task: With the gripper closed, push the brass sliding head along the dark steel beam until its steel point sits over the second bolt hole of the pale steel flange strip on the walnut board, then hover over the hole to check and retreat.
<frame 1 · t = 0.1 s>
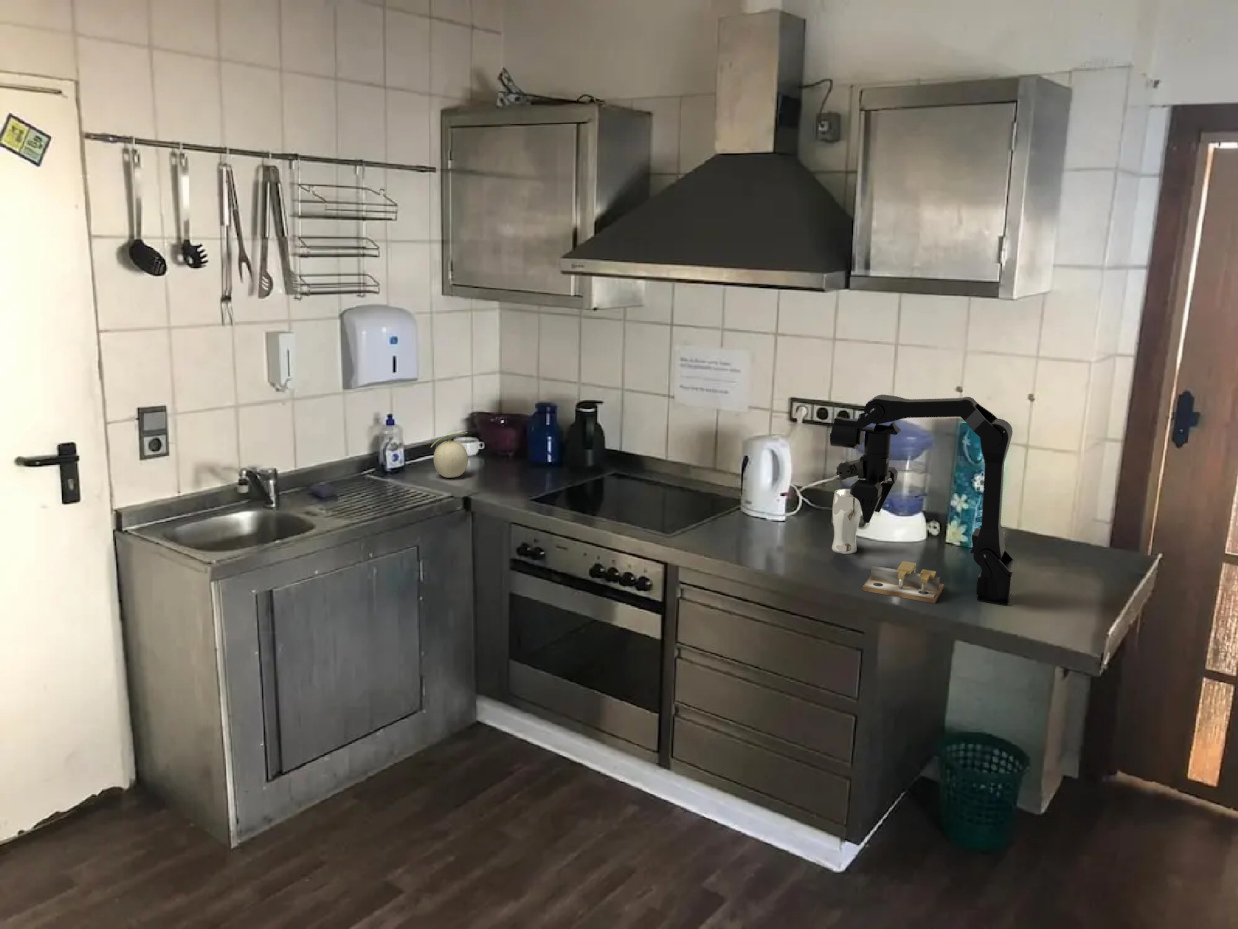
hand: (872, 517, 236), 15 cm above the worktop, tool pointing down, fingers open, 9 cm apart
fruit: (450, 477, 321), on the worktop
beer glass: (844, 550, 258), on the worktop
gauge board: (903, 589, 232), on the worktop
slider: (904, 575, 232), point 3 cm above the worktop, slide at 0.0 cm
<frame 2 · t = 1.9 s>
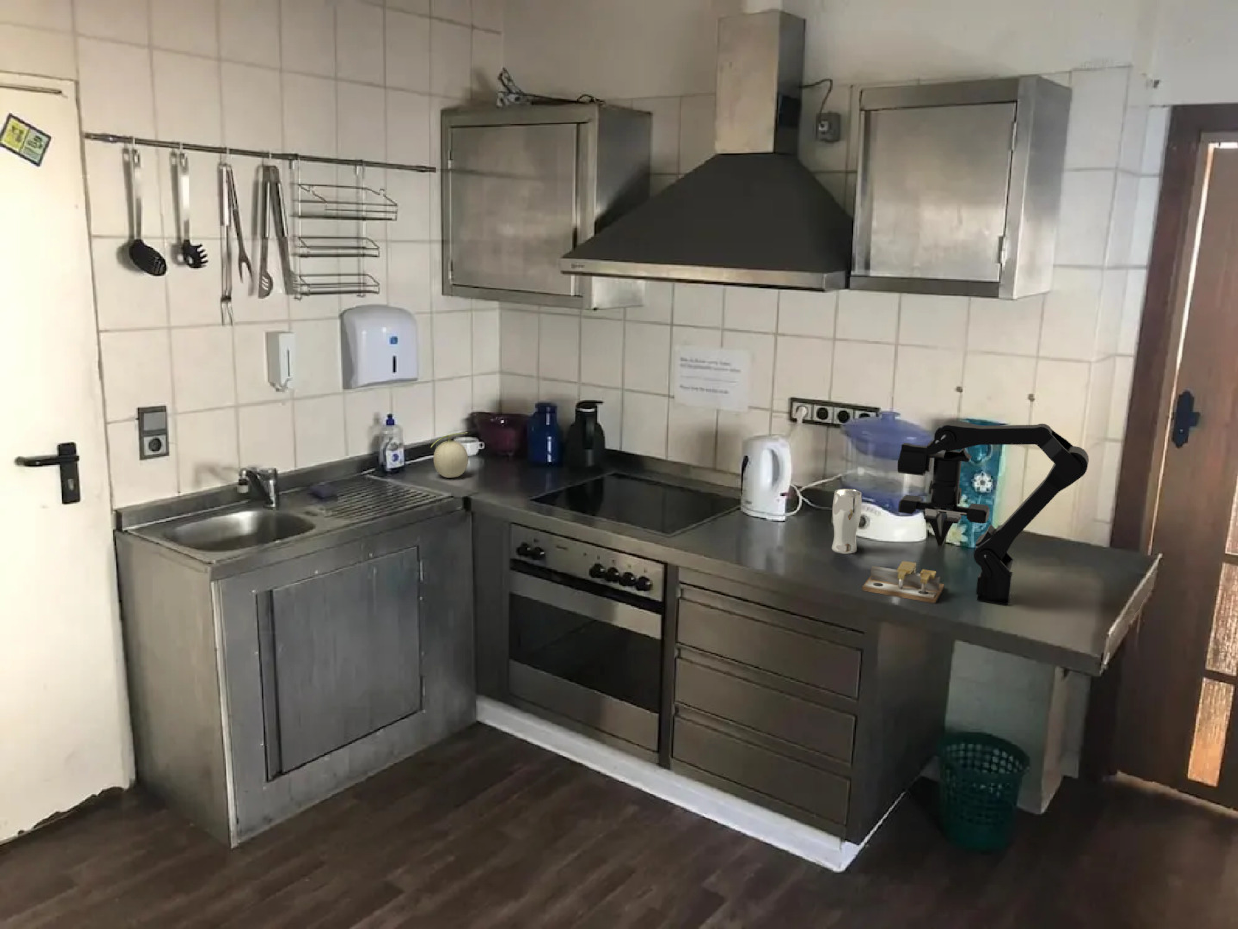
hand: (940, 545, 230), 10 cm above the worktop, tool pointing down, fingers closed
nothing on the worktop moved.
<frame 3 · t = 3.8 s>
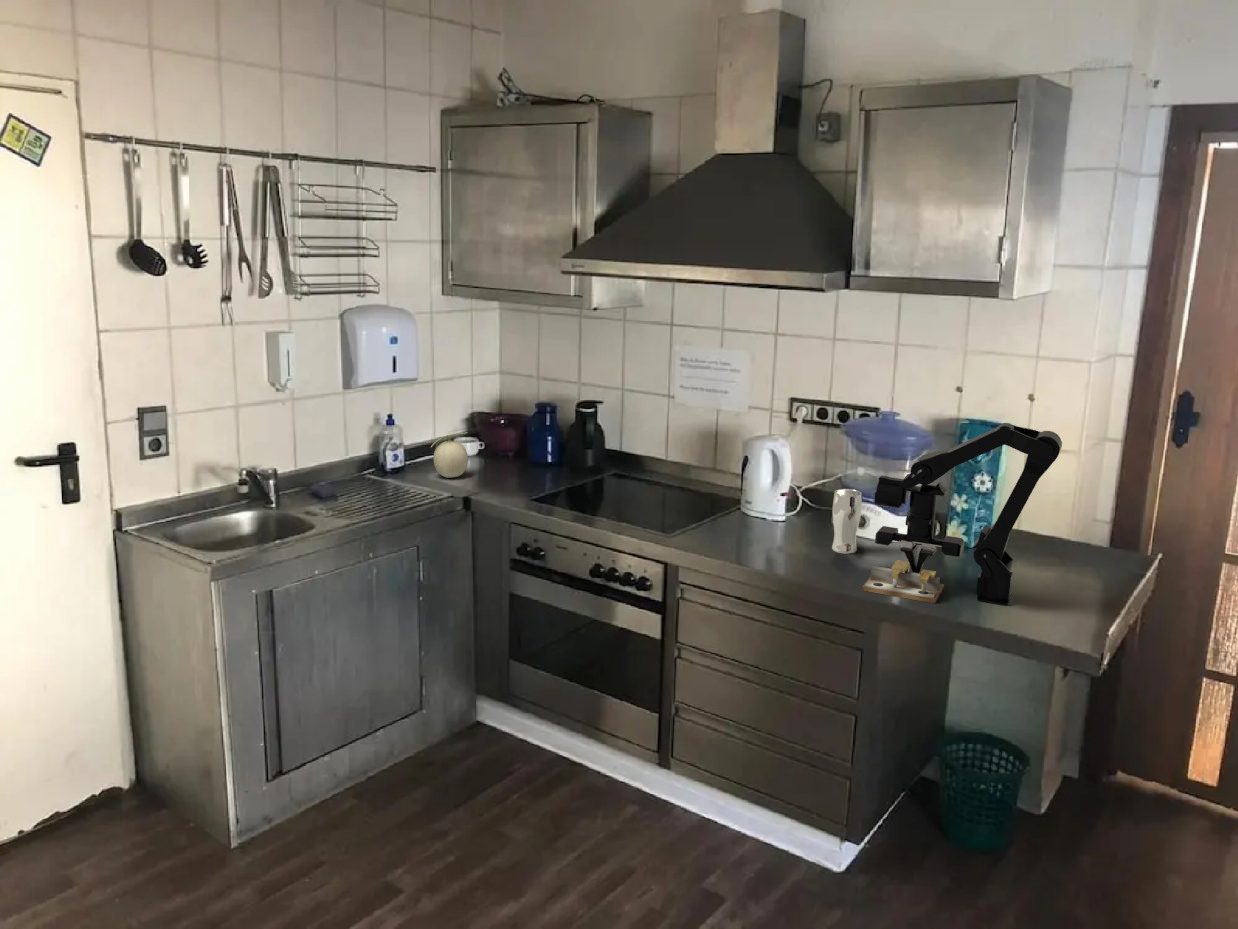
hand: (916, 576, 234), 2 cm above the worktop, tool pointing down, fingers closed
slider: (898, 574, 232), point 3 cm above the worktop, slide at 1.3 cm, touching gripper
everything else where it was.
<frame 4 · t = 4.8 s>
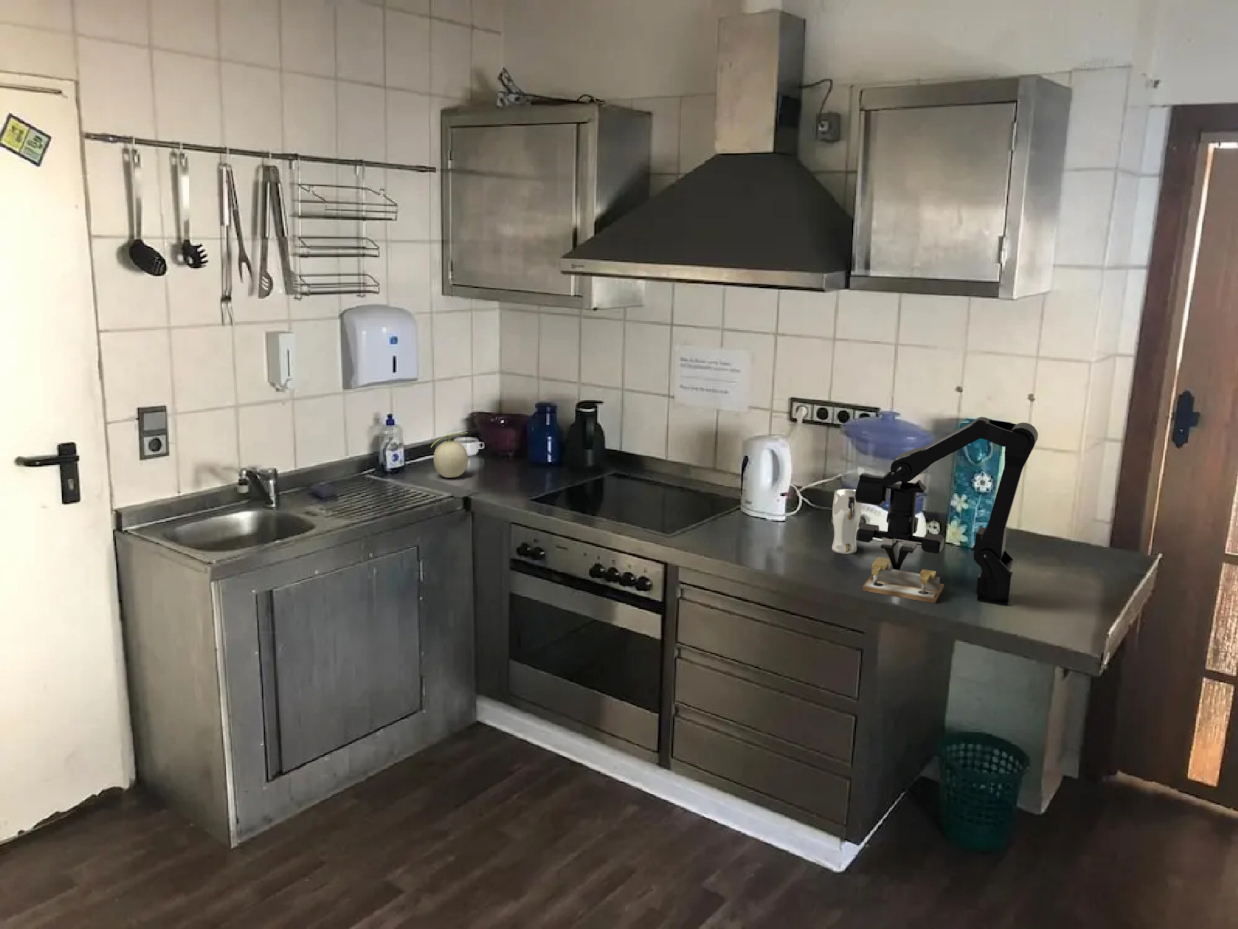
hand: (896, 573, 236), 2 cm above the worktop, tool pointing down, fingers closed
slider: (879, 571, 234), point 3 cm above the worktop, slide at 5.7 cm, touching gripper
everything else where it was.
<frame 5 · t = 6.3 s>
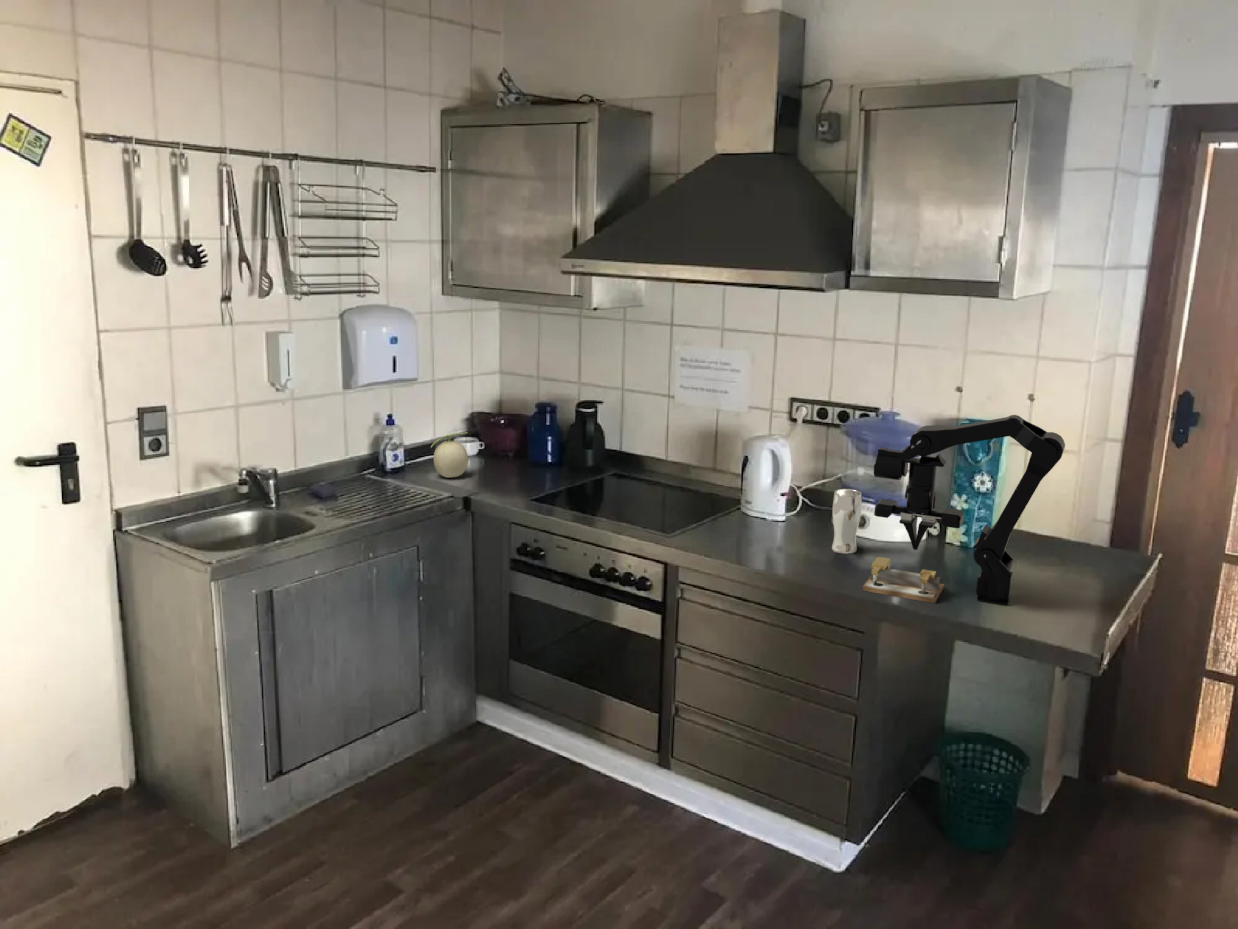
hand: (915, 549, 233), 9 cm above the worktop, tool pointing down, fingers closed
slider: (879, 571, 234), point 3 cm above the worktop, slide at 5.8 cm
everything else where it was.
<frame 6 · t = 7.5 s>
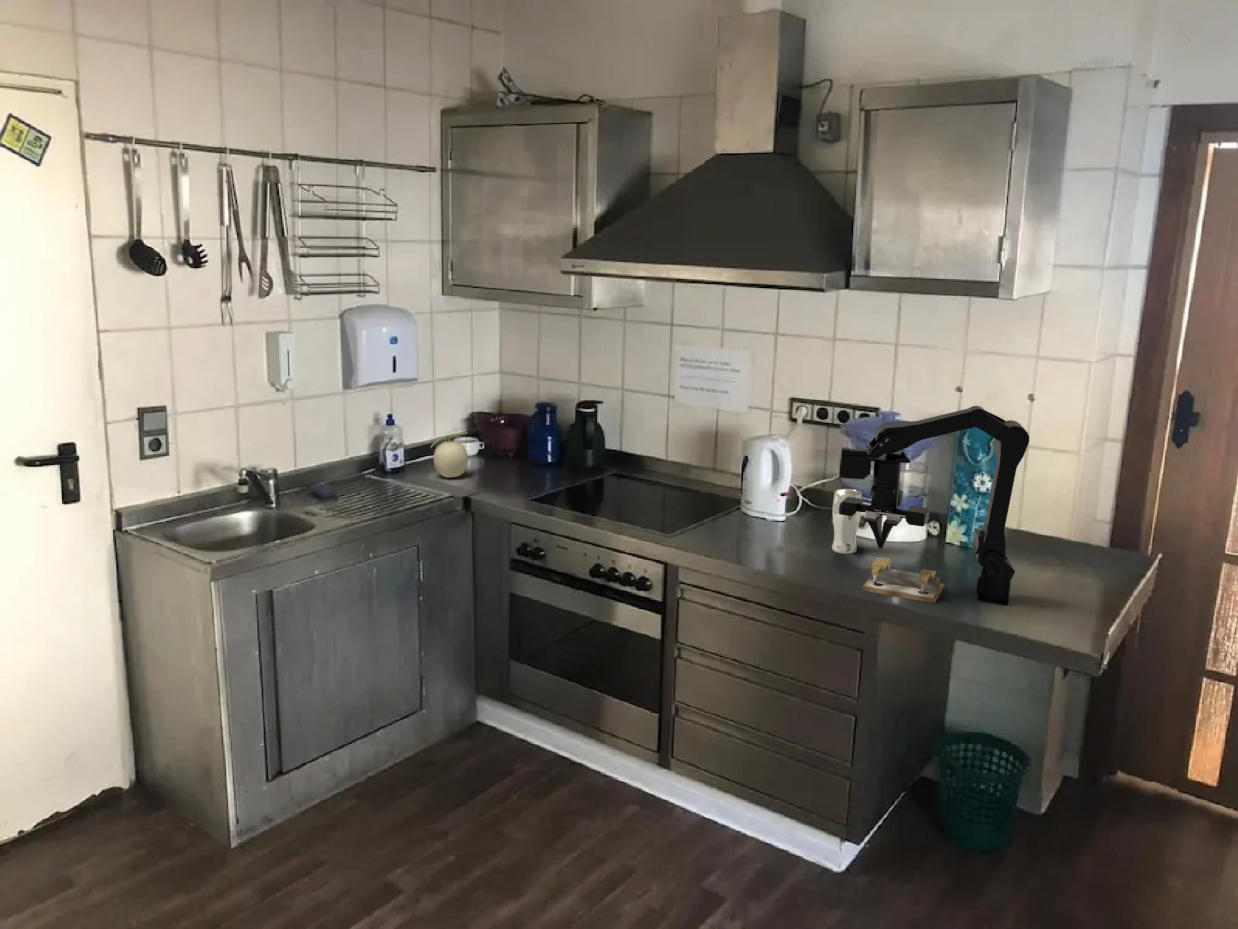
hand: (880, 548, 229), 10 cm above the worktop, tool pointing down, fingers closed
nothing on the worktop moved.
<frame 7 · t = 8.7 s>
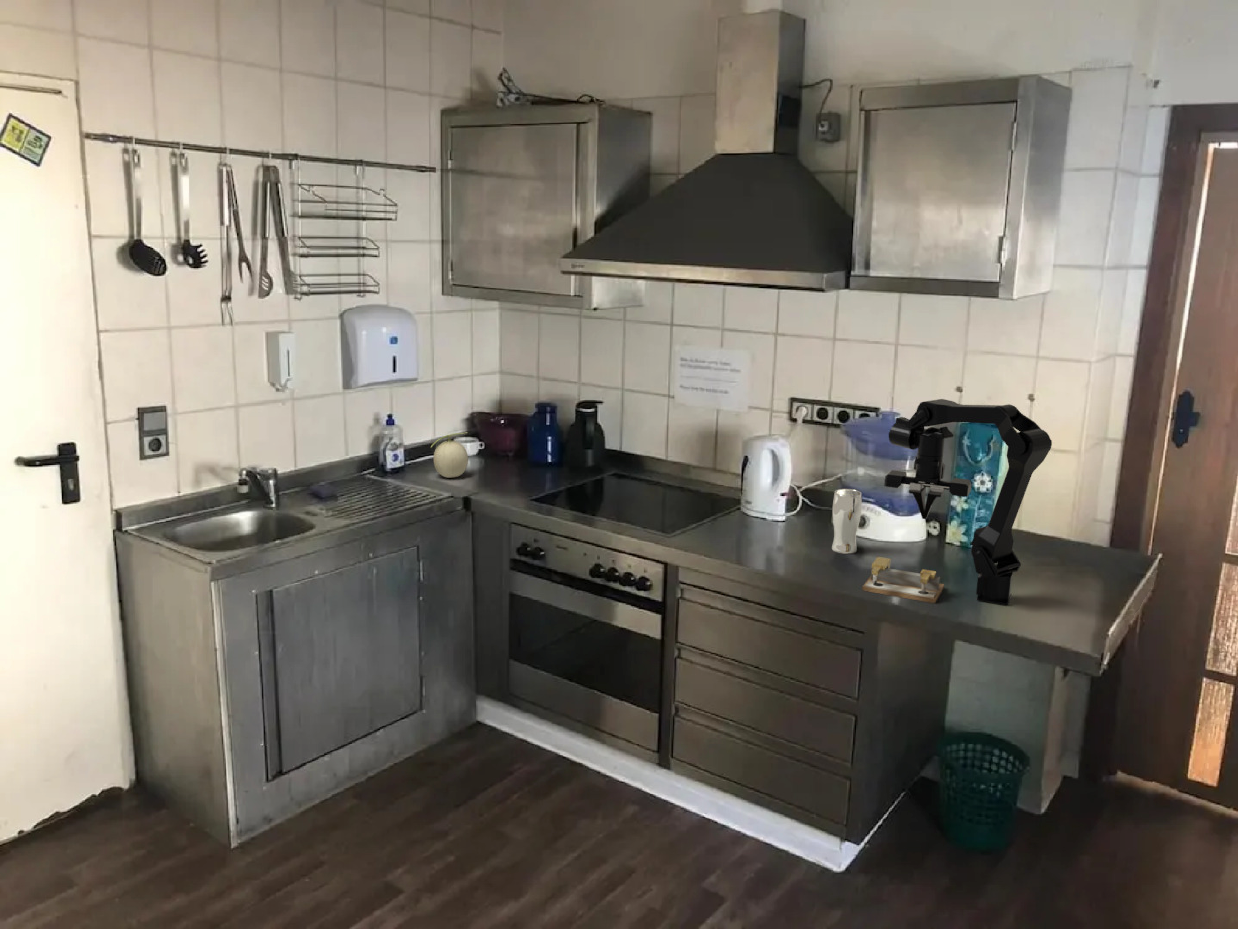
hand: (924, 518, 240), 13 cm above the worktop, tool pointing down, fingers closed
nothing on the worktop moved.
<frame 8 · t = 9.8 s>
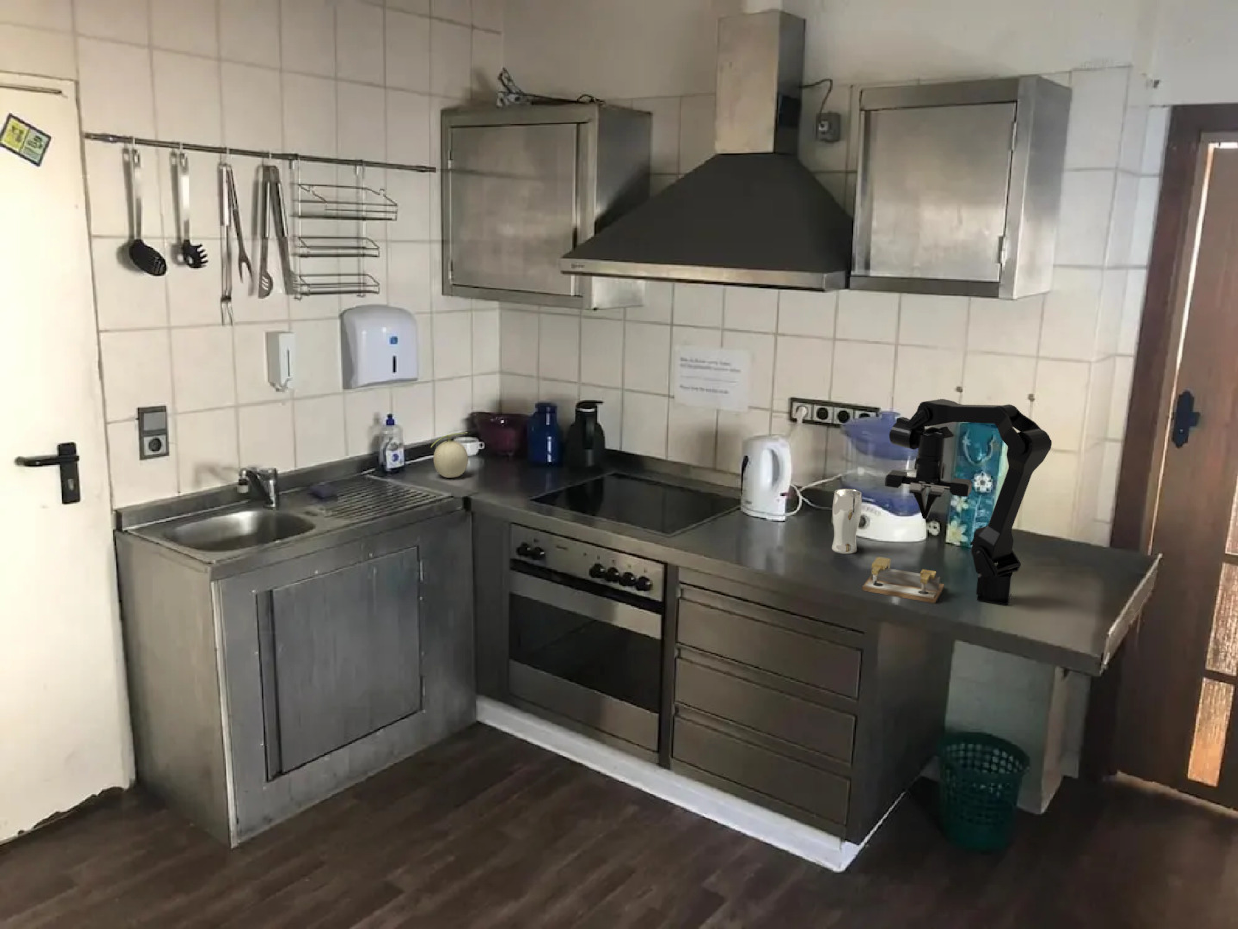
hand: (924, 518, 240), 13 cm above the worktop, tool pointing down, fingers closed
nothing on the worktop moved.
at the end: slider slide at 5.8 cm; the gripper is holding nothing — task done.
